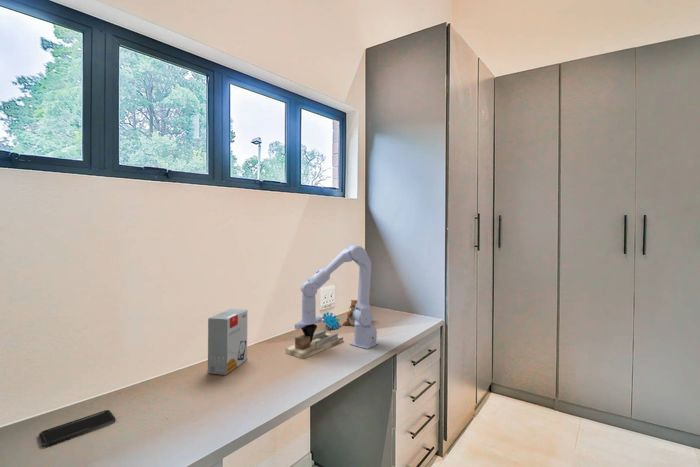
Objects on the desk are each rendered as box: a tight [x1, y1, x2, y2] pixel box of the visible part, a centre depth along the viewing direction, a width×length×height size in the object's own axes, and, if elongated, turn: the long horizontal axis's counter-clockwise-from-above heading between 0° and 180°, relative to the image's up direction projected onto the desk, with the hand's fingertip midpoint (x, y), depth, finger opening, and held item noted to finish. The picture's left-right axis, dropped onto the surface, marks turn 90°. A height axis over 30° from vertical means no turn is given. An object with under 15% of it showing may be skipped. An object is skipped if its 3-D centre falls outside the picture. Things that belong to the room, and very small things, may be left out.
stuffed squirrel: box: [342, 299, 358, 326], centre depth 186 cm, size 10×14×13 cm
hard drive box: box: [207, 308, 248, 376], centre depth 131 cm, size 16×8×20 cm, turn 168°
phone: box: [38, 409, 116, 448], centre depth 91 cm, size 8×1×15 cm
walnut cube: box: [294, 334, 310, 350], centre depth 145 cm, size 4×4×4 cm
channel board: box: [285, 330, 344, 360], centre depth 151 cm, size 10×26×4 cm, turn 143°
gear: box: [322, 311, 341, 330], centre depth 180 cm, size 11×6×10 cm
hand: (308, 342), depth 148 cm, fingers closed
